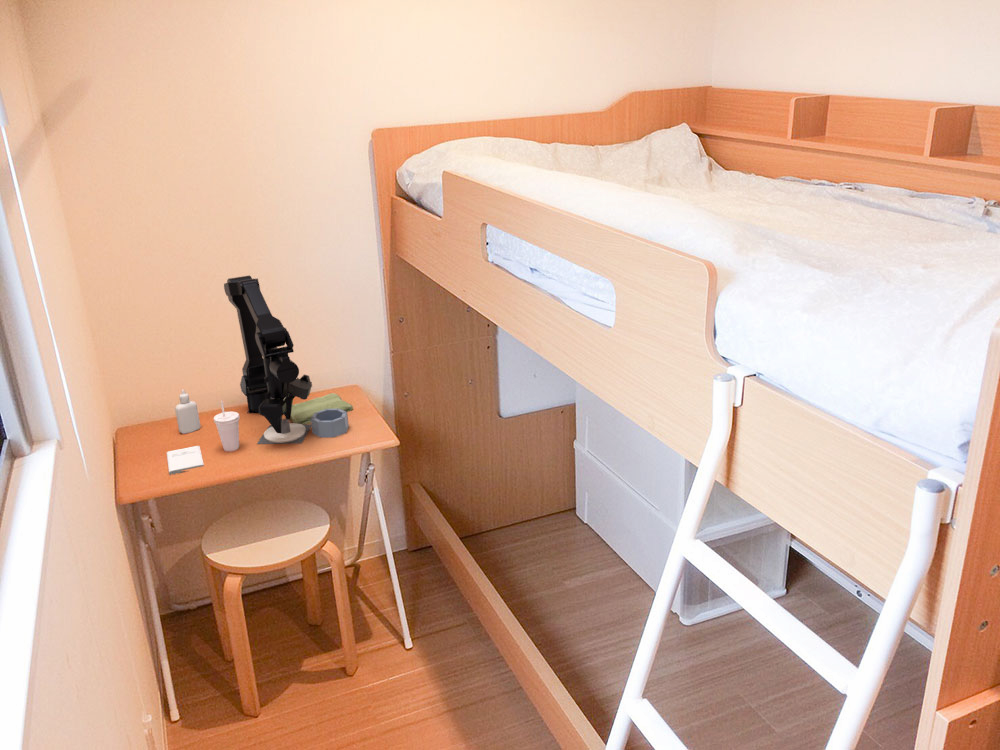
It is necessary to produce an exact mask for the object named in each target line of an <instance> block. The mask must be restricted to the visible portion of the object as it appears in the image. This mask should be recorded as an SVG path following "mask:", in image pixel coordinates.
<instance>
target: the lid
mask: <svg viewBox="0 0 1000 750" xmlns="http://www.w3.org/2000/svg"><path fill="white" fill-rule="evenodd" d="M267 428H268V427H267ZM267 428H266V430H265V431H264V432H263V434H264V438H265V439H266V440H267V441H269V442H274V443H284V442H290V441H294V440H297V439H299V438H301V437H302V436H304V435H305V433H306V428H305V426H303V425H302V424H298V423H294V422H290V419H286V418H282V432H281V433H277V432H276V431H275V430H274V428H273V427H270V428H268V429H267Z"/></svg>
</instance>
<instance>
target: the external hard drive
mask: <svg viewBox="0 0 1000 750" xmlns="http://www.w3.org/2000/svg"><path fill="white" fill-rule="evenodd" d="M166 459H167V465H168V466H167V467H168V473H169V476H172V475H176V473H177V474H182V473H186V472H188V470H191V469H195V468H201V467H204V466H205V463H204V460H203V456H202V452H201V447H200V445H194V446H189V447H184V448H180V449H174V450H169V451H166ZM171 474H172V475H171Z"/></svg>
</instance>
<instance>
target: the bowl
mask: <svg viewBox="0 0 1000 750" xmlns="http://www.w3.org/2000/svg"><path fill="white" fill-rule="evenodd" d="M348 417H349V416H348V412H346V411H343V410H341V409H324V410H321V411H318V412H315V413H314V414H313V416H312V417H311V423H310V424H311V425H312V426H311V431H312V435H314V436H316V437H318V438H324V439H325V438H336V437H339V436H341V435H344V434H347V432H348V429H349V418H348Z"/></svg>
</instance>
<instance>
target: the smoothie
mask: <svg viewBox="0 0 1000 750" xmlns="http://www.w3.org/2000/svg"><path fill="white" fill-rule="evenodd" d="M220 405H221V412H220V413H218V414H216V415H214V417H213V423H214V424H215V426H216V428H217V432H218V436H219V438H220V441H221V444H222V447H223V450H224V452H233V451H234V452H235V451H237V450H238V449H239V448H240V430H239V429H240V427H239V426H240V424H239V420H240V419H241V418H240V413H238V412H236V411H225V406H224V401H223V400H220Z"/></svg>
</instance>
